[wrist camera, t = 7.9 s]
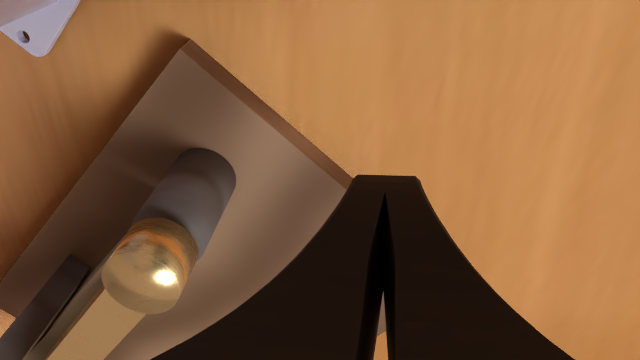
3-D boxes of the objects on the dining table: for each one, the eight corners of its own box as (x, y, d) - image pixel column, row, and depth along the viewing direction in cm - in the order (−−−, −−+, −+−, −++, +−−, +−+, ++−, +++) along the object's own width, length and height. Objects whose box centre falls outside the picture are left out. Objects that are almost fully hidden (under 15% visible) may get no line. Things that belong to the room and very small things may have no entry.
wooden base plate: (0, 285, 30) (-113, 407, 23) (190, 39, 21) (92, 127, 14) (219, 419, 34) (177, 555, 28) (456, 268, 25) (478, 416, 19)
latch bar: (149, 204, 18) (122, 241, 16) (212, 246, 18) (193, 286, 17) (11, 379, 24) (-17, 418, 23) (61, 405, 25) (37, 445, 23)
